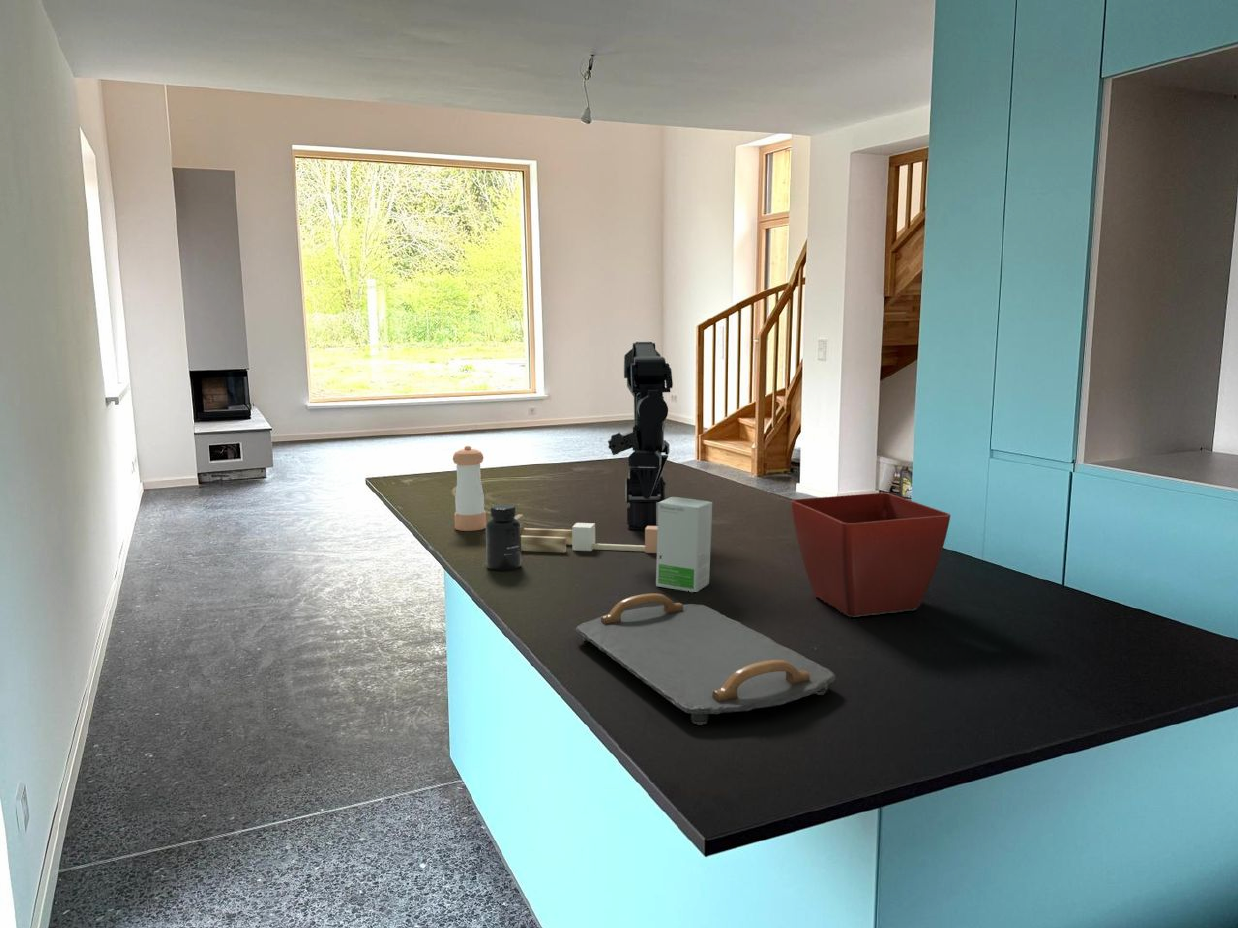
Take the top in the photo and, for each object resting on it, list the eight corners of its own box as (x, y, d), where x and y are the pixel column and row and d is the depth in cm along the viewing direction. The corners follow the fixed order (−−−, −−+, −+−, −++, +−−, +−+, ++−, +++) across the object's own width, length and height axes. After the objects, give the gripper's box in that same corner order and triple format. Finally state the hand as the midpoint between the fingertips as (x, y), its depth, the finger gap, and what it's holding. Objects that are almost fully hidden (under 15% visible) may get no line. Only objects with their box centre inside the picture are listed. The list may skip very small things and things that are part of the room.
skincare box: (655, 587, 159) (654, 502, 156) (670, 577, 164) (670, 495, 162) (698, 593, 155) (698, 506, 152) (712, 583, 161) (713, 499, 158)
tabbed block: (661, 548, 185) (661, 525, 184) (659, 553, 181) (659, 530, 181) (576, 545, 189) (576, 522, 188) (572, 550, 185) (572, 527, 184)
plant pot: (841, 628, 137) (845, 522, 134) (786, 592, 155) (788, 498, 152) (948, 616, 142) (954, 514, 139) (882, 583, 160) (886, 492, 157)
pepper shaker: (469, 532, 201) (466, 449, 198) (448, 528, 205) (444, 446, 202) (492, 526, 207) (490, 445, 204) (471, 522, 211) (468, 443, 208)
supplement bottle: (515, 572, 169) (513, 510, 167) (481, 570, 170) (479, 509, 168) (526, 562, 175) (524, 503, 174) (493, 561, 177) (491, 502, 175)
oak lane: (573, 543, 191) (572, 516, 190) (564, 552, 183) (564, 524, 182) (518, 541, 193) (518, 514, 192) (508, 550, 185) (507, 522, 184)
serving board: (564, 638, 135) (563, 599, 134) (693, 614, 145) (693, 578, 144) (699, 744, 101) (700, 692, 100) (856, 703, 111) (857, 656, 110)
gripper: (618, 413, 191) (619, 484, 194) (602, 424, 173) (603, 502, 176) (669, 414, 189) (669, 485, 192) (659, 425, 171) (659, 504, 174)
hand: (649, 493), depth 183 cm, fingers open, 9 cm apart
